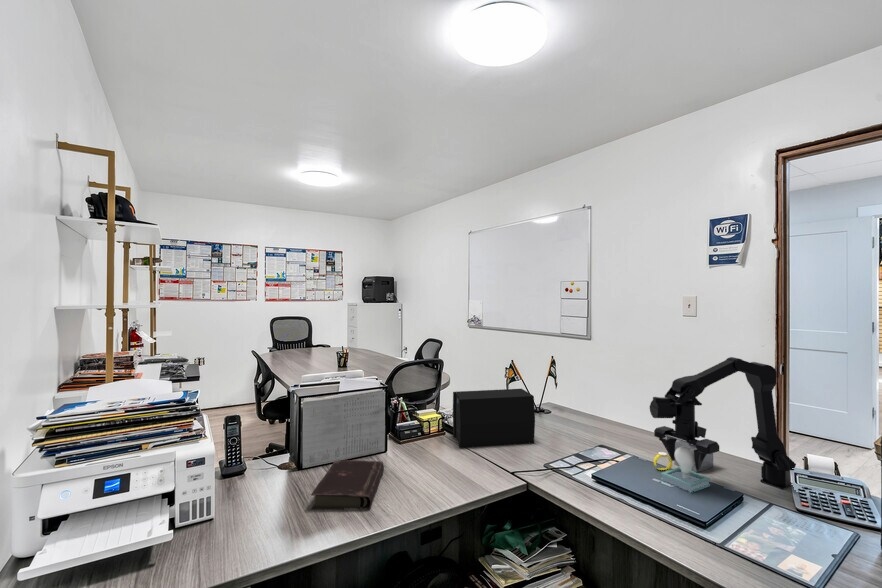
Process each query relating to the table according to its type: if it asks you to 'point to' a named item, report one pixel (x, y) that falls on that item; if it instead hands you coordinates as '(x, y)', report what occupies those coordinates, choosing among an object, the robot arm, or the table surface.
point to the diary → (348, 485)
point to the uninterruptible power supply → (493, 417)
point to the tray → (702, 479)
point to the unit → (705, 465)
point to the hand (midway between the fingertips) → (685, 465)
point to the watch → (662, 454)
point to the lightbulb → (685, 460)
